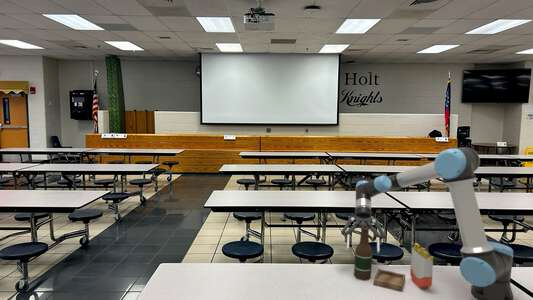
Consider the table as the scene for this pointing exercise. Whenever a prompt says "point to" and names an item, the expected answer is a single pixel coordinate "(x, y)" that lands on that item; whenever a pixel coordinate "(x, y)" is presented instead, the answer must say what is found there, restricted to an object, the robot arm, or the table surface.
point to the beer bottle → (363, 256)
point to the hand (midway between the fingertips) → (362, 250)
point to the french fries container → (421, 267)
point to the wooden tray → (389, 280)
